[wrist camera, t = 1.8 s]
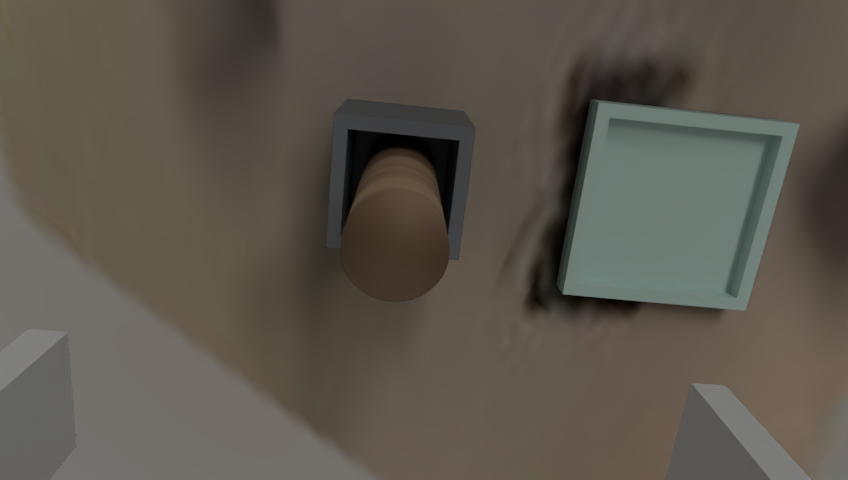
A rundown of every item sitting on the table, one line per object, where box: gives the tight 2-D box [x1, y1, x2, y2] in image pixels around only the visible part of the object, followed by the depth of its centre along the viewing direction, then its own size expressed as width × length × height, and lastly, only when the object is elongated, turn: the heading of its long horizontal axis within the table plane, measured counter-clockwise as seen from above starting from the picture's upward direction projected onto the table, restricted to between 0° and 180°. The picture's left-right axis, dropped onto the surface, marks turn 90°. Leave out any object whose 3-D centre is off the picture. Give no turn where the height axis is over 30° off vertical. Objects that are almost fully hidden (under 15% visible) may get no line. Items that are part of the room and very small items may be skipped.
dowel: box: [340, 133, 450, 302], centre depth 31 cm, size 4×4×16 cm
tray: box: [556, 99, 800, 311], centre depth 39 cm, size 12×12×2 cm
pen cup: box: [326, 99, 476, 260], centre depth 35 cm, size 7×7×7 cm
